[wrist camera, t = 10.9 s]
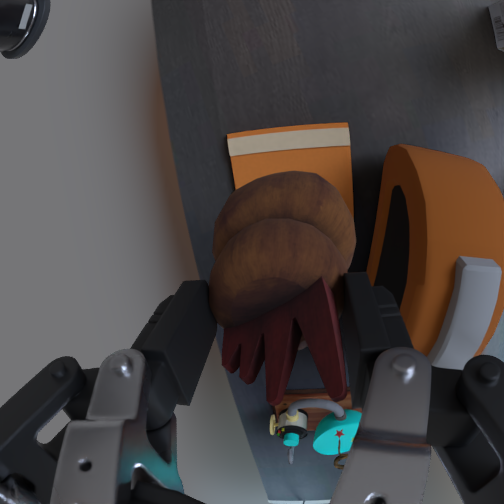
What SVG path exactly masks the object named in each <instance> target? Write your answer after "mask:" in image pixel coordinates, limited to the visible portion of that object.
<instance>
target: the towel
mask: <svg viewBox="0 0 504 504" xmlns="http://www.w3.org/2000/svg"><path fill="white" fill-rule="evenodd" d="M227 138H228V139H227V142H228V148H229V154H230V157H231V163H232V170H233V176H234V182H235V188H236V189H238V188H240V187H242V186H244V185H246V184H247V183H249V182H251V181H253V180H255V179H257V178H260V177H263V176H267V175H270V174H274V173H279V172H286V171H303V172H311V173H317V174H318V175H319V176H321V177H322V178H324V179H325V180H326V181H328V182H329V183H331V184H332V185H333V186H335V187H336V189H337V190H338V191H339V193H340V194H341V196H342V198H343V200H344V202H345V204H346V205H347V207H348V209H349V211H350V213H351V215H352V217H353V219H354V206H353V182H352V166H351V152H350V136H349V128H348V123H347V122H346V123H325V124H310V125H298V126H287V127H277V128H268V129H260V130H252V131H245V132H238V133H231V134H227Z"/></svg>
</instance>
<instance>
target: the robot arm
mask: <svg viewBox="0 0 504 504" xmlns="http://www.w3.org/2000/svg"><path fill="white" fill-rule="evenodd" d="M38 11H39V3H38V0H0V52H5V51H14V50H16V49H18V48H19V47H20V46H21V45H22V44H23V43H24V42H25V41H26V39H27V38H28V36H29V35H30V33H31V31H32V29H33V27H34V25H35V22H36V19H37V16H38ZM343 278H344V309H343V312H342V319H343V333H344V340H345V347H346V355H347V364H348V373H349V382H350V392H351V403H352V409H358V408H362V416H361V419H360V422H359V426H358V429H357V432H356V434H355V436H354V439H353V442H352V445H351V448H350V451H349V454H348V457H347V460H346V462H345V465H344V468H343V471H342V473H341V476H340V478H339V481H338V484H337V486H336V489H335V491H334V493H333V496H332V498H331V501H330V503H329V504H422V500H423V495H424V491H425V487H426V482H427V477H428V471H429V466H430V459H431V446H432V447H433V449H434V450H435V452H436V454H437V456H438V457H439V459H440V461H441V463H442V464H443V466H444V468H445V470H446V472H447V473H448V475H449V477H450V479H451V481H452V483H453V485H454V487H455V488H456V490H457V492H458V494H459V496H460V498H461V500H462V502H463V503H464V504H504V362H502V361H501V360H500V359H498V358H496V357H493V356H490V355H478V356H475V357H473V358H471V359H470V360H469V361H468V362H467V363H466V364H465V366H464V368H463V370H459V369H447V368H439V367H435V366H432V365H431V364H430V362H429V360H428V358H427V357H426V356H425V355H424V354H423V353H421V352H420V351H418V350H415V349H414V347H413V344H412V341H411V339H410V336H409V333H408V331H407V328H406V326H405V323H404V321H403V318H402V316H401V313H400V311H399V308H398V307H397V303H396V301H395V298H394V296H393V294H392V293H391V292H390V291H388V290H387V289H386V288H385V287H384V286H371V283H370V280H369V278H368V275H367V272H352V273H344V274H343ZM216 332H217V322H216V319H215V317H214V315H213V313H212V311H211V308H210V306H209V286H208V283H207V282H206V281H205V280H196V281H184V282H183V283H182V284H181V286H180V287H179V289H178V290H177V292H176V293H175V295H170V296H169V297H168V298H167V299H165V300H164V301H163V302H161V303H160V304H159V306H158V307H157V309H156V310H155V312H154V315H152V316H151V318H150V319H149V321H148V323H147V324H146V325H145V327H144V328H143V330H142V331H141V333H140V334H139V336H138V338H137V339H136V341H135V342H134V344H133V345H132V347H131V348H130V349H123V350H119V351H117V352H114V353H113V354H111V355H110V356H108V357H107V358H106V359H105V360H104V361H103V363H102V364H101V366H100V368H92V369H84V370H82V369H81V367H80V365H79V364H78V362H77V361H76V359H75V358H73V357H69V356H65V357H60V358H58V359H55V360H54V361H52V362H51V363H49V364H48V365H47V366H46V367H45V368H44V369H42V370H41V371H40V372H39V373H38V374H37V375H36V376H35V377H34V378H32V379H31V380H30V381H29V382H28V383H27V384H26V385H25V386H24V387H22V388H21V389H20V390H19V391H18V392H17V393H16V394H15V395H14V396H13V397H11V398H10V399H9V400H8V401H7V402H6V403H5V404H4V405H3V406H2V407H1V408H0V504H205V503H203V502H201V501H198V500H196V499H194V498H192V497H189V496H187V495H185V494H184V489H183V485H182V481H181V479H180V477H179V474H178V470H177V444H176V443H177V437H176V416H175V414H174V412H173V411H174V409H175V407H176V404H179V405H187V406H189V405H190V403H191V400H192V397H193V395H194V392H195V389H196V386H197V384H198V381H199V378H200V376H201V373H202V370H203V368H204V365H205V362H206V359H207V357H208V354H209V352H210V349H211V346H212V343H213V341H214V338H215V335H216ZM61 409H63V411H64V412H65V413H66V414H67V415H68V417H69V418H70V419H71V421H70V422H69V423H68V424H67V425H66V426H65V427H64V428H63V429H62V430H61V431H60V432H59V433H58V434H57V435H56V436H55V437H54V438H53V439H52V440H51V441H50V442H49V443H47V444H42V443H40V442H38V441H37V440H36V439H37V434H38V432H39V431H40V430H41V429H42V428H43V427H44V426H45V425H46V424H47V423H48V422H49V421H50V420H51V419H52V418H53V417H54V416H55V415H56V414H57V413H58V412H59V411H60V410H61Z"/></svg>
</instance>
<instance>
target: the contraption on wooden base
mask: <svg viewBox="0 0 504 504" xmlns="http://www.w3.org/2000/svg"><path fill="white" fill-rule="evenodd" d="M272 407H273V412H274V415H271V419H270V434H271V435H274V433H275V426H278V430H277V433H276V434H277V436H279V437H280V438H282V439H284V445H286V446H290V449H289V450H288V461H289V464H292V463H293V455H294V446H297V445H298V442H299V439H302V438H304V437H306V436H307V433H308V432H307V431H309V430H316V431H315V435H314V441H313V448H314V449H315V450H316V451H317V452H319V453H321V454H325V455H334V454H340V456H338V457H336V459H335V460H334V466H335V467H336V468H338V469H343V468H344V465H340V464H338V463H337V462H338V461H340V460H341V459H345V458H347V457H348V454H341V453H343V452H346V451H349V450H350V448H351V445H352V442H353V439H354V436H355V434H356V432H357V429H358V426H359V422H360V419H361V416H362V408H358V409H352V403H351V392H350V387H347V396H346V398H345V399H344V400H342V401H339V402H334V401H333V400H332V399H331V398H330V397H329V395H328V393H327V391H326V388H325V389H304V390H285V393H284V397H283V400H282V402H281V403H280V404H279V405H277V406H272Z"/></svg>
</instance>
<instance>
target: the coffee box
mask: <svg viewBox="0 0 504 504" xmlns="http://www.w3.org/2000/svg"><path fill="white" fill-rule="evenodd" d="M488 8H489V12H490V16H491V20H492V25H493V29H494V34H495V39H496V45H497V48H498V50H501V51H503V52H504V0H502V1H499V2H497V3H495V4H492V5H490V6H488Z"/></svg>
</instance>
